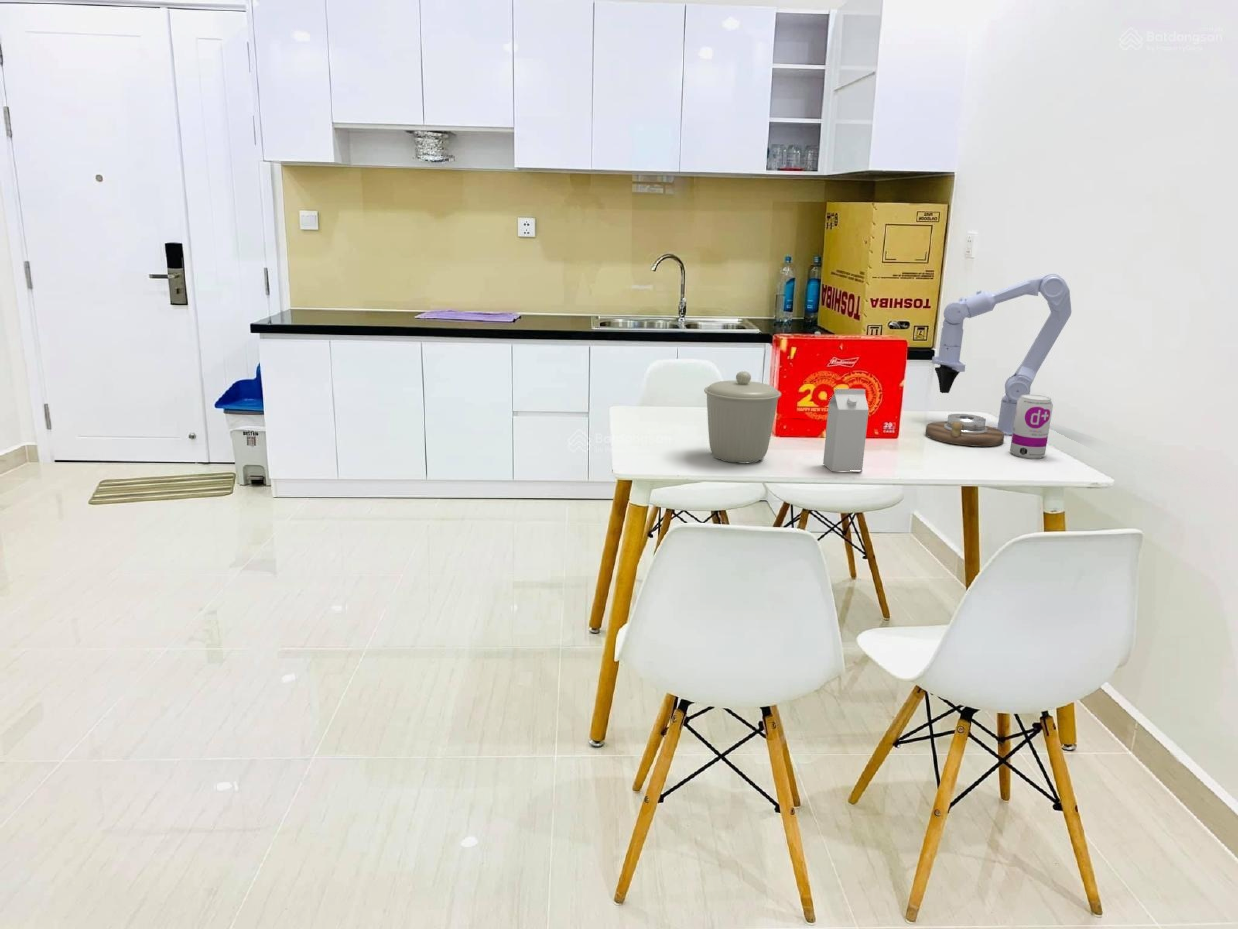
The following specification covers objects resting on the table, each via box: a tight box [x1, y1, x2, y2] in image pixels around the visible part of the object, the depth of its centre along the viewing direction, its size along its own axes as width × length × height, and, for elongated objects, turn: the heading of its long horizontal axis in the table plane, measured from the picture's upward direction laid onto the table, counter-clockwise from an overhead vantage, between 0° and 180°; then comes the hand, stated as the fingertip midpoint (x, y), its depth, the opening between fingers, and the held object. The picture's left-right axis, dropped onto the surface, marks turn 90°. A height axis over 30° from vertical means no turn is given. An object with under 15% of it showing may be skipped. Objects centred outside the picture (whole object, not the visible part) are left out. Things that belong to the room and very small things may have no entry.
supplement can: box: [1009, 393, 1054, 460], centre depth 230 cm, size 8×8×15 cm
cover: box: [944, 413, 987, 435], centre depth 246 cm, size 11×11×4 cm
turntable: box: [925, 420, 1005, 447], centre depth 246 cm, size 20×20×6 cm
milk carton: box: [822, 388, 869, 472], centre depth 211 cm, size 7×7×19 cm
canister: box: [703, 371, 782, 463], centre depth 217 cm, size 18×18×21 cm
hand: (944, 392), depth 260 cm, fingers closed
